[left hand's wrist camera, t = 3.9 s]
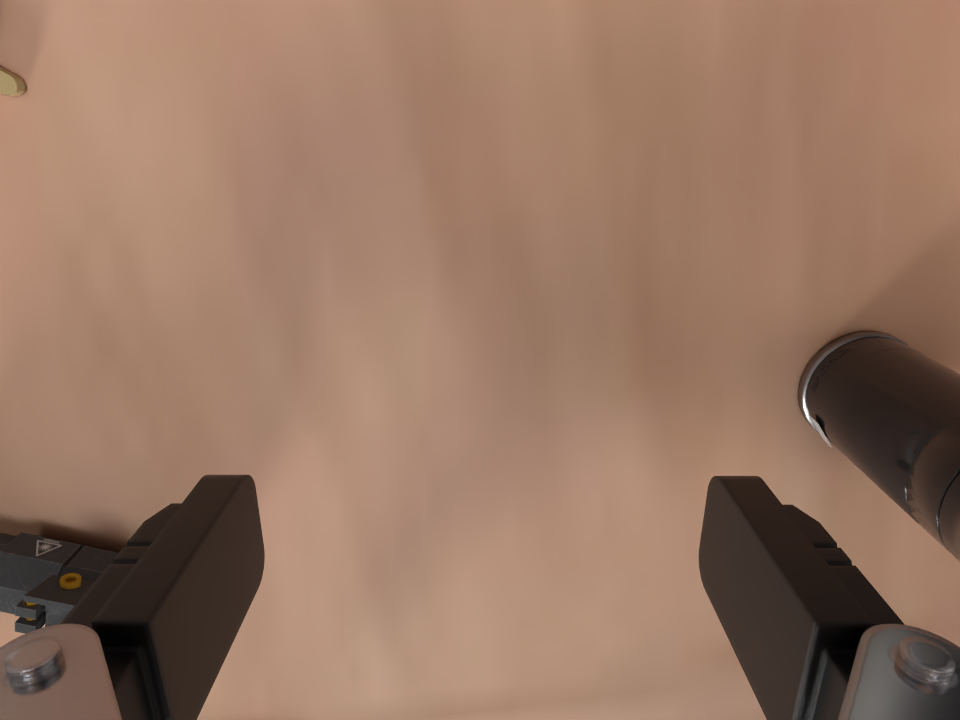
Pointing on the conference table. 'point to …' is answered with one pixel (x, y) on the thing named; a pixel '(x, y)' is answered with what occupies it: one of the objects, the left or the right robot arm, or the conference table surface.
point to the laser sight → (45, 577)
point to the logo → (10, 83)
